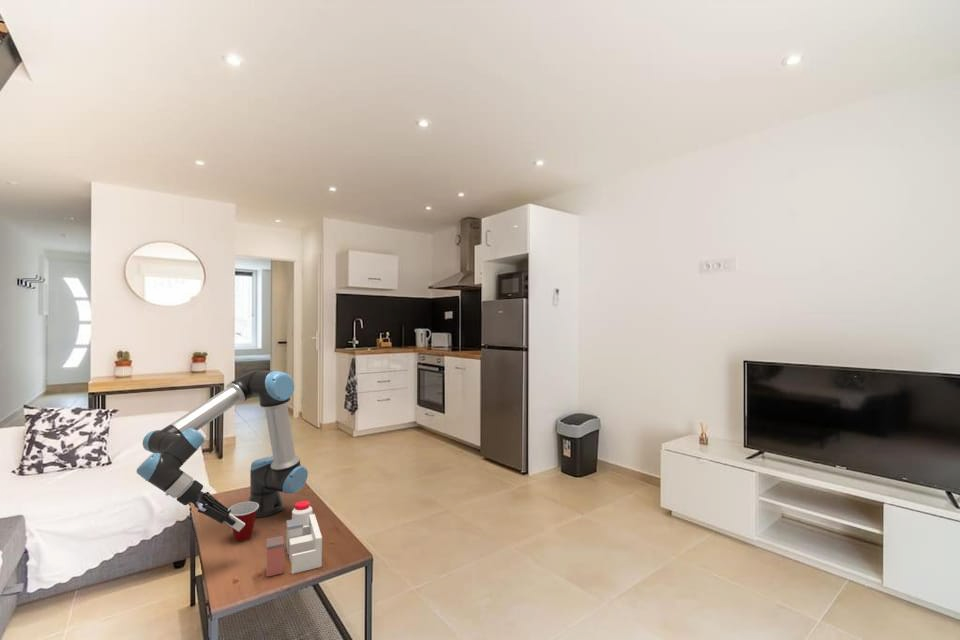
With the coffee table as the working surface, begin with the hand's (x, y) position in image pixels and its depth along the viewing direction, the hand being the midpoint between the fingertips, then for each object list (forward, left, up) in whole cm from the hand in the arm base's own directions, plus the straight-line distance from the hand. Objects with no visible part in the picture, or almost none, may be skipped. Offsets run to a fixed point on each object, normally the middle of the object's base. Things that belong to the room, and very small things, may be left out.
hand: (241, 527), depth 152 cm
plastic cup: (-18, 0, -12) cm, 22 cm away
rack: (+6, +20, -12) cm, 24 cm away
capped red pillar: (+12, +10, -12) cm, 20 cm away
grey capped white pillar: (0, +17, -12) cm, 21 cm away
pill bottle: (-14, +21, -12) cm, 28 cm away
